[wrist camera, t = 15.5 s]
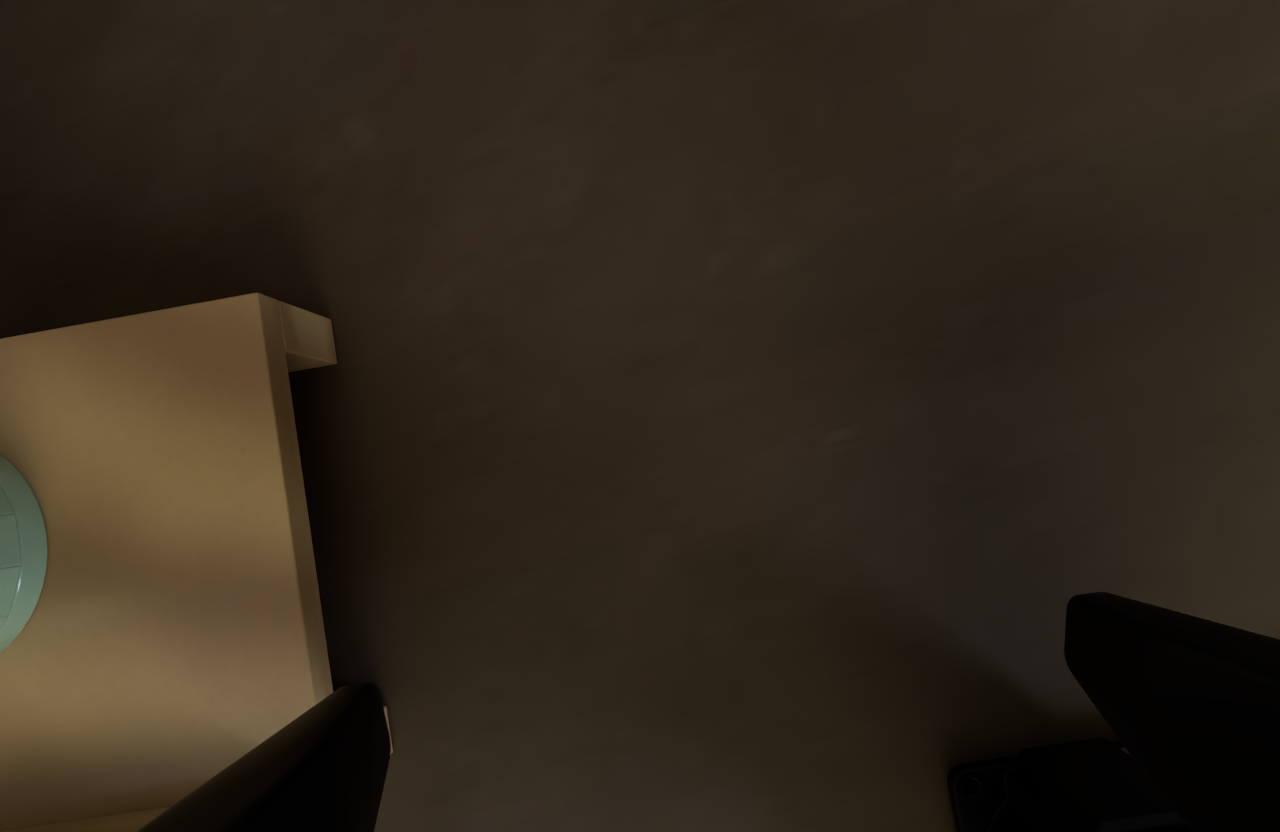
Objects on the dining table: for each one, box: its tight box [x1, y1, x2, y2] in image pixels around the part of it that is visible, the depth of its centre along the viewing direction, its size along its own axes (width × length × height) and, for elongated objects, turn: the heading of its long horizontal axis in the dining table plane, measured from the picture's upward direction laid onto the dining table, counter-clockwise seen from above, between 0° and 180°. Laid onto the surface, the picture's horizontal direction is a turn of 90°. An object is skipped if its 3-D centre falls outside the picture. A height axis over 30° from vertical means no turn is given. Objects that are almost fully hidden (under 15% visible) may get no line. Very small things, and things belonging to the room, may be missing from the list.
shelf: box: [0, 292, 393, 832], centre depth 20 cm, size 14×14×6 cm
